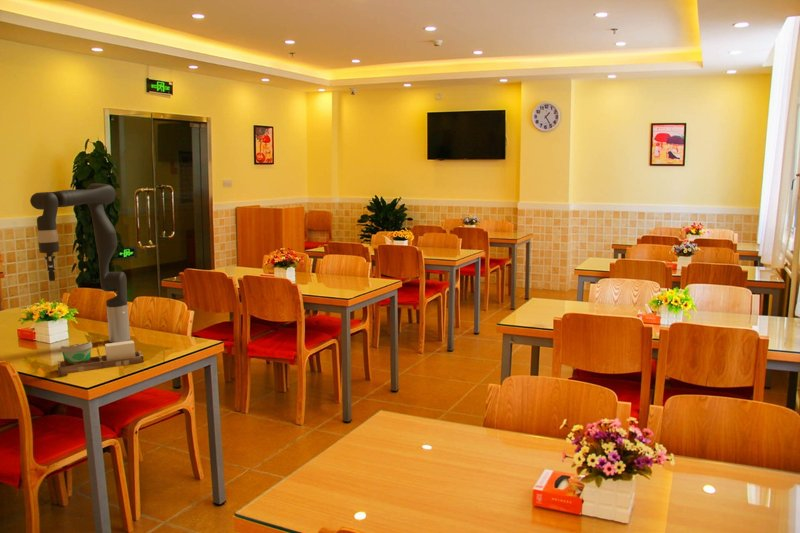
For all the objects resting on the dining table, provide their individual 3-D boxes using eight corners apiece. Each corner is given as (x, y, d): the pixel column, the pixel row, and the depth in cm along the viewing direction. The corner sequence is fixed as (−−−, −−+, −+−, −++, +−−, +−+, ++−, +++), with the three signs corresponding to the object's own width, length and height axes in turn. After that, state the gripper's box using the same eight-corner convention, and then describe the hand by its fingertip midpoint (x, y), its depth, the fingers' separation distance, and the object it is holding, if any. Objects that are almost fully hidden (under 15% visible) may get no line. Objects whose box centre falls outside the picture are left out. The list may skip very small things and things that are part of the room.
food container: (67, 373, 273) (65, 348, 272) (62, 370, 278) (59, 346, 276) (99, 366, 282) (97, 342, 281) (93, 363, 286) (90, 340, 285)
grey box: (106, 362, 287) (105, 343, 286) (134, 358, 292) (133, 340, 291) (107, 365, 283) (105, 346, 282) (135, 361, 288) (134, 342, 286)
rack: (58, 369, 282) (57, 361, 281) (140, 358, 296) (140, 350, 295) (58, 376, 272) (57, 368, 272) (143, 364, 286) (143, 356, 286)
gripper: (58, 241, 279) (62, 280, 282) (58, 238, 292) (61, 276, 294) (37, 243, 276) (41, 282, 278) (38, 240, 288) (42, 278, 291)
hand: (52, 279), depth 286 cm, fingers open, 8 cm apart
